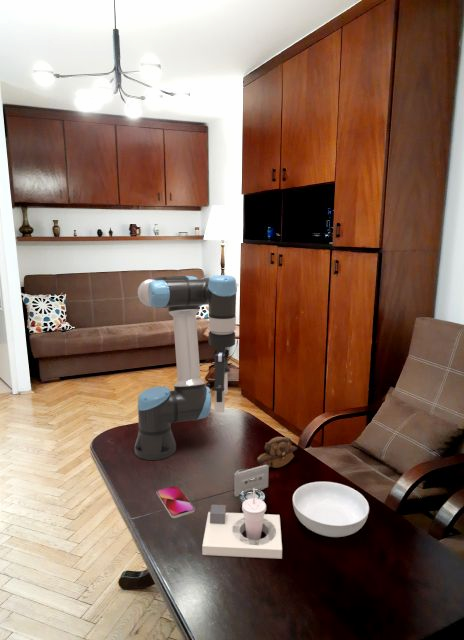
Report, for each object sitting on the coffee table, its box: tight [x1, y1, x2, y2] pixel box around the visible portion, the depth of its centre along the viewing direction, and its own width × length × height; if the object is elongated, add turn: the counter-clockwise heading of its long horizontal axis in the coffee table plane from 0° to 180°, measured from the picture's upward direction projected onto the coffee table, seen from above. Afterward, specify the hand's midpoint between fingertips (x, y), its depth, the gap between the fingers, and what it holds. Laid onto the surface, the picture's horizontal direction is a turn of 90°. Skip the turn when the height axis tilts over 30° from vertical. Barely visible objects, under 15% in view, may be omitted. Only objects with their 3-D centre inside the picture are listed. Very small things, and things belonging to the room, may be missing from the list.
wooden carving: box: [256, 436, 298, 468], centre depth 155 cm, size 16×5×10 cm, turn 128°
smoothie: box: [241, 488, 267, 540], centre depth 118 cm, size 6×6×14 cm
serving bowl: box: [292, 481, 370, 538], centre depth 125 cm, size 21×21×7 cm
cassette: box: [233, 464, 270, 497], centre depth 140 cm, size 12×2×8 cm, turn 118°
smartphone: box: [155, 485, 196, 519], centre depth 135 cm, size 7×1×15 cm
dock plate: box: [201, 504, 283, 560], centre depth 119 cm, size 14×20×6 cm
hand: (221, 402), depth 130 cm, fingers open, 13 cm apart
